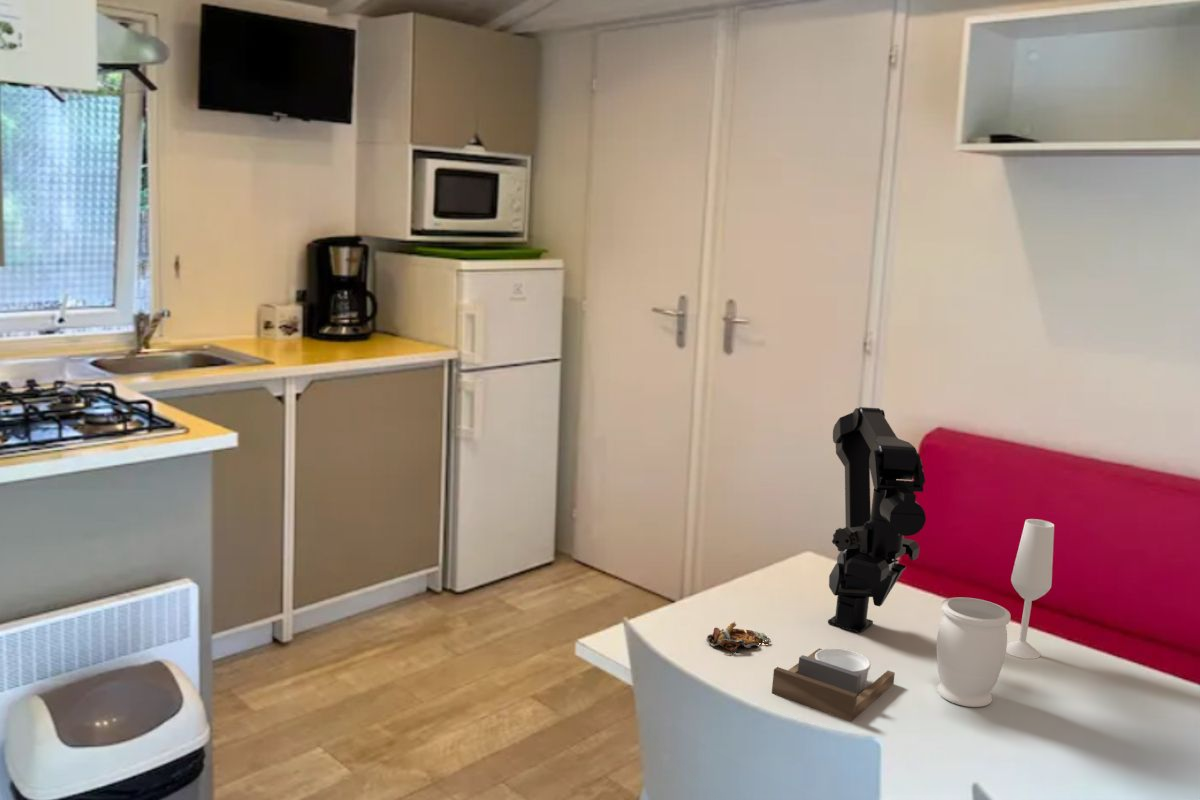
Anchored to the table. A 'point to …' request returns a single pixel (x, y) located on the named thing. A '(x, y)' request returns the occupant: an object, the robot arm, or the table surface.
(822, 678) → the block
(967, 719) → the table surface
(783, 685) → the wooden u-shaped frame
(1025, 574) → the champagne flute
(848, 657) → the ramekin
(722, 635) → the grilled meat platter
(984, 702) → the jar
